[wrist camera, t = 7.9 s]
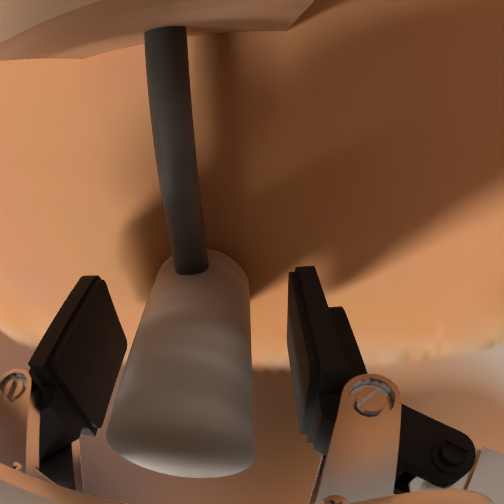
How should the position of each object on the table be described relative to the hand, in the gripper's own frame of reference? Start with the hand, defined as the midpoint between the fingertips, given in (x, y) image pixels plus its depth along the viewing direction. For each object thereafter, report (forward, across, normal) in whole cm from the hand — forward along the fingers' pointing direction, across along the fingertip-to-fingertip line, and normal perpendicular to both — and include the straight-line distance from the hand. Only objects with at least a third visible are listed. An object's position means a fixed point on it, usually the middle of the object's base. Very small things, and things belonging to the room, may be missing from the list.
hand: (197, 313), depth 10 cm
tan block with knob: (+2, 0, -6) cm, 7 cm away
